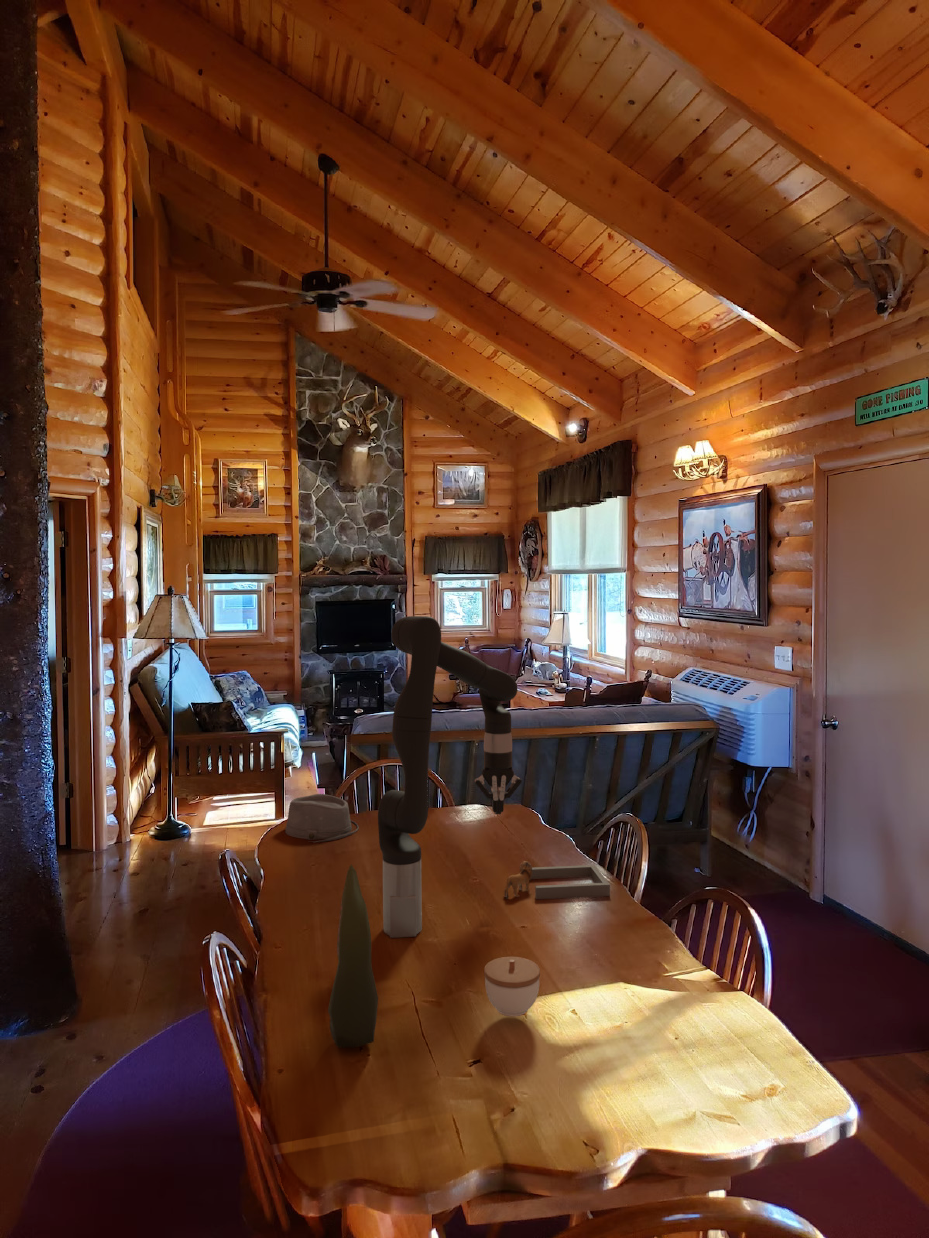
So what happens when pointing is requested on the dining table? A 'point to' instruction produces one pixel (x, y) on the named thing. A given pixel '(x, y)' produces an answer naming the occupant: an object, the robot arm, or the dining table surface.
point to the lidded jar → (512, 984)
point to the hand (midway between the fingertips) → (497, 813)
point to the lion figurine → (519, 879)
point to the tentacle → (353, 972)
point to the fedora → (319, 818)
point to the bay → (570, 890)
